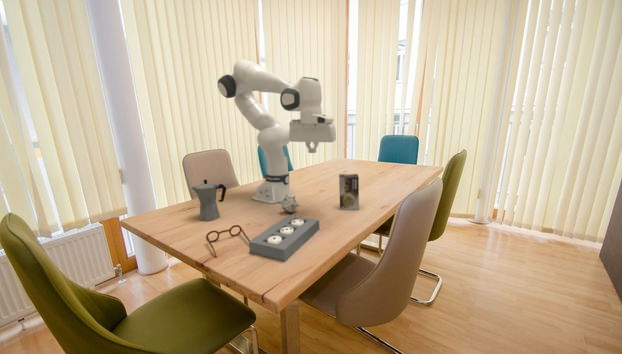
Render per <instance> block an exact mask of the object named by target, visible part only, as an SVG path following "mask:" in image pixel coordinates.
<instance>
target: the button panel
mask: <svg viewBox="0 0 622 354" xmlns="http://www.w3.org/2000/svg"><path fill="white" fill-rule="evenodd" d="M295 219H301V220H303V221H304V224H302V225H301V226H298V225H292V224H291V221H292V220H295ZM283 227H292V228H293V232H292V233H291V234H290V235H289V234H284V233H280V229H281V228H283ZM319 230H320V219H316V218H310V217H304V216H298V215H293V214H288V215H287V216H285V217H284V218H282V219H281V220H279V221H278V222H276V223H274V224H273V225H271V226H270V227H268V228H267V229H265V230H264V231H262V232H261V233H260V234H258V235H256V236H255V237H254V238H252V239H251V240H250V241H248V249H249V253H250V254H254V255H258V256H262V257H267V258H271V259H274V260H278V261H283V262H286V261H287V260H288V259H289V258H291V256H293V255H294V253H296V252H297V250H299V249H301V247H302V246H303V245H304V244H305V243H307V241H308V240H310V239H311V238H312V237H313V236H314V234H316V233H317V232H318V231H319ZM271 236H280V237H281V238H282V241H281V242H280V243H279V244H277V245H276V244H272V243H268V241H267V239H268V238H269V237H271Z"/></svg>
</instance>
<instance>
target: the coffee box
mask: <svg viewBox="0 0 622 354" xmlns="http://www.w3.org/2000/svg"><path fill="white" fill-rule="evenodd" d="M338 178H339V180H338V182H339V185H338V186H339V211H342V210H345V211H348V210H349V211H354V210H356V211H357V210H358V211H359V209H360V207H359V206H360V205H359V204H360V203H359V200H360V198H359V197H360V196H359V195H360V194H359V190H360V187H359V186H360V185H359V184H360V182H359V181H360V179H359V173H350V174H349V173H347V174H345V173H343V174H339V175H338Z"/></svg>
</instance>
